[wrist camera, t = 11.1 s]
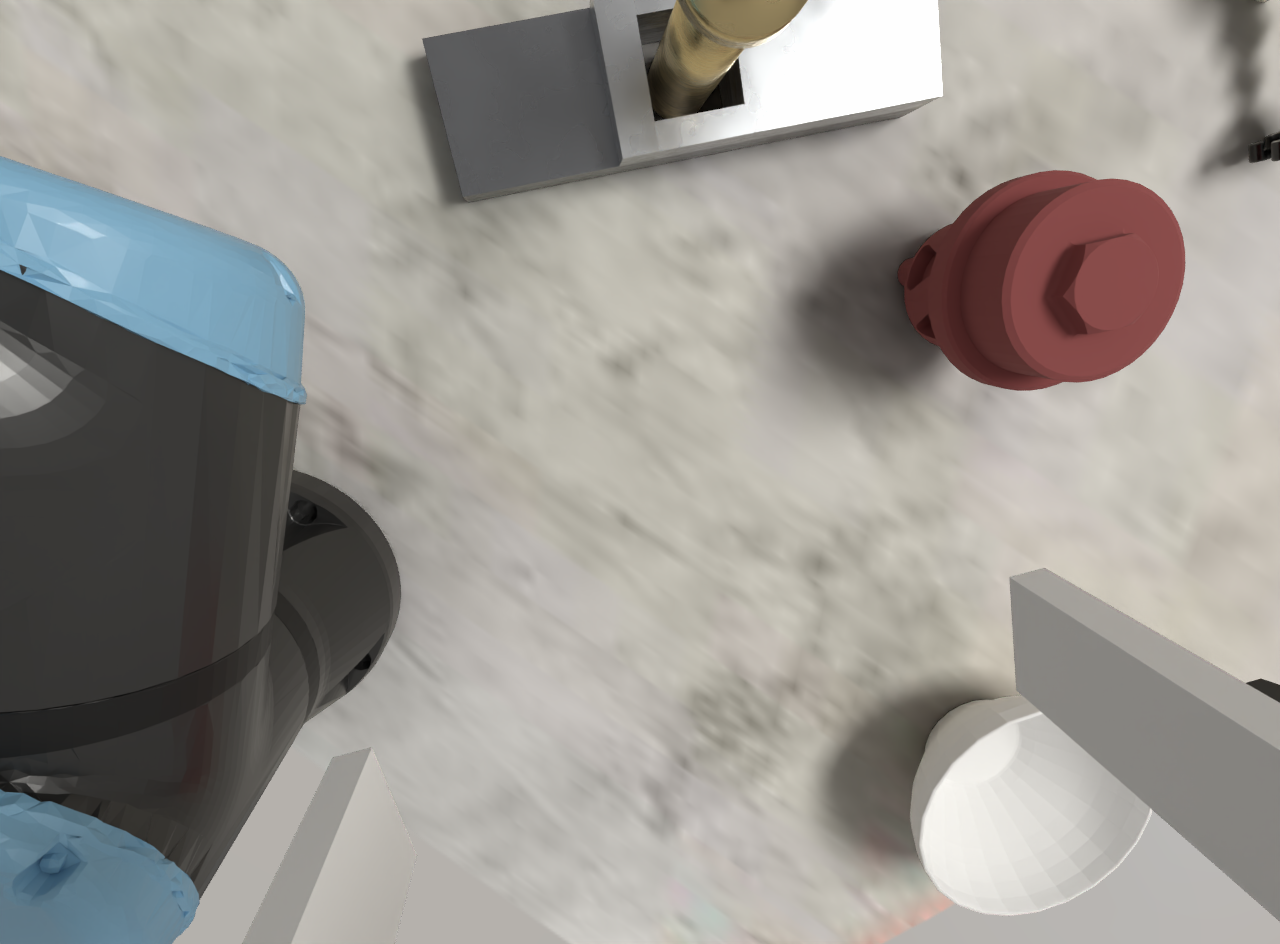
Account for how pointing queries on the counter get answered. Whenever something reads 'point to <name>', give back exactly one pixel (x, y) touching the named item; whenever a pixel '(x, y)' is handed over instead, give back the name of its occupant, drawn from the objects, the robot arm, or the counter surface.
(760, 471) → the counter surface
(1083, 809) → the bowl
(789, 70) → the plate with square socket
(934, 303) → the mechanical component
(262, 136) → the counter surface
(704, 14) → the brass knob
